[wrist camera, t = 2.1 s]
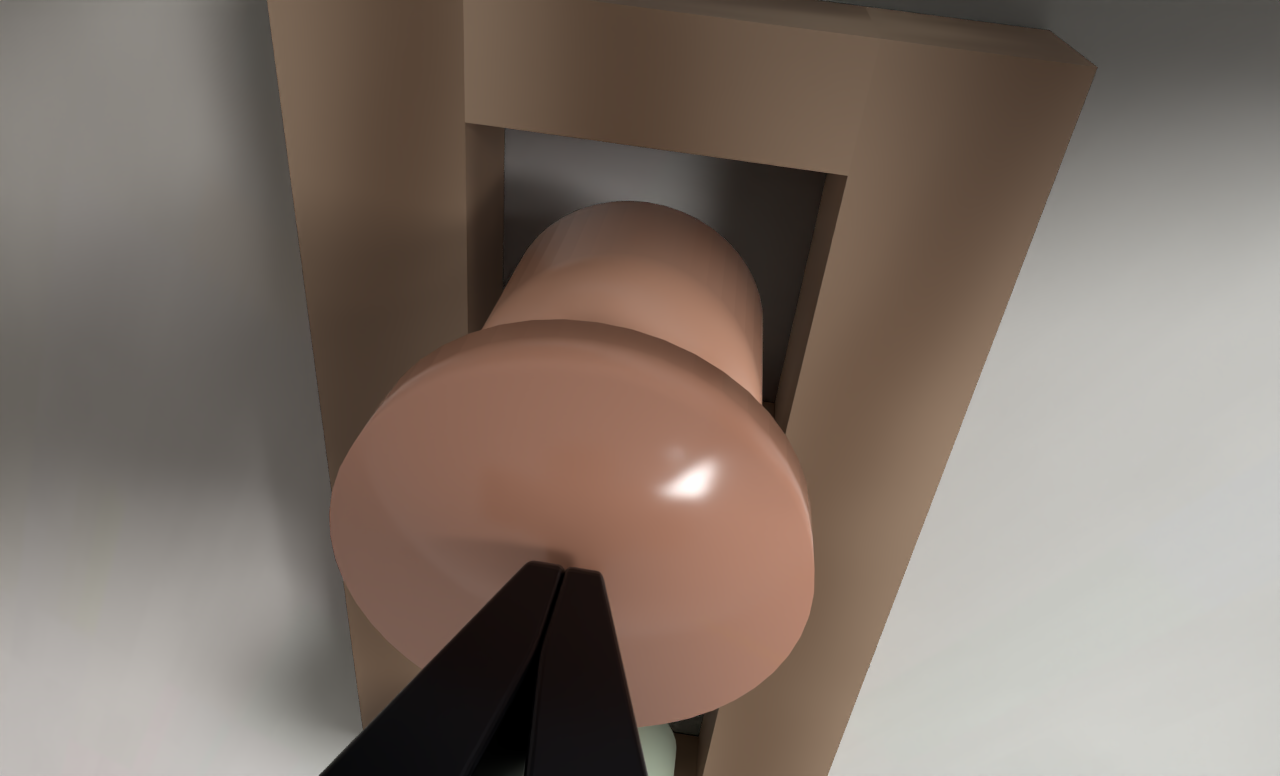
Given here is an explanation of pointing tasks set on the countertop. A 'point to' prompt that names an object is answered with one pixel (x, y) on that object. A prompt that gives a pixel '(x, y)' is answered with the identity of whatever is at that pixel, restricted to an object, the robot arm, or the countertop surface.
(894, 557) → the panel
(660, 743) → the sage plunger
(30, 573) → the countertop surface
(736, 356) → the terracotta plunger
